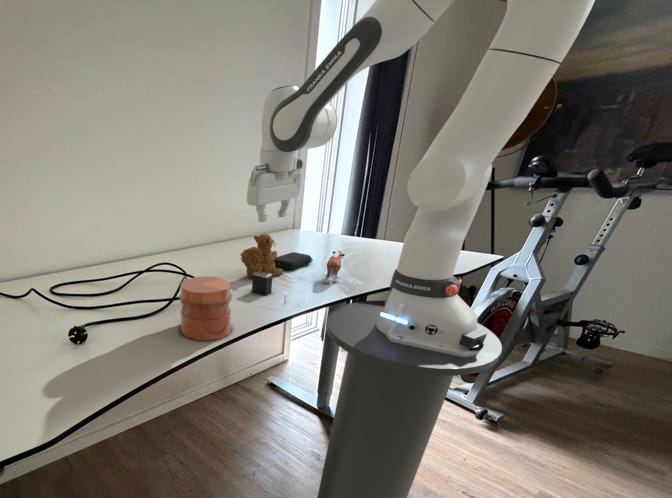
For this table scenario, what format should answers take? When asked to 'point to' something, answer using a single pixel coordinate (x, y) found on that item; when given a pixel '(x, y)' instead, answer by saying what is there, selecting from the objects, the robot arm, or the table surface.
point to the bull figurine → (334, 264)
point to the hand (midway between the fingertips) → (272, 219)
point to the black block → (262, 283)
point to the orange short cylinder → (205, 308)
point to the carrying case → (292, 260)
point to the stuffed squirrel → (261, 257)
